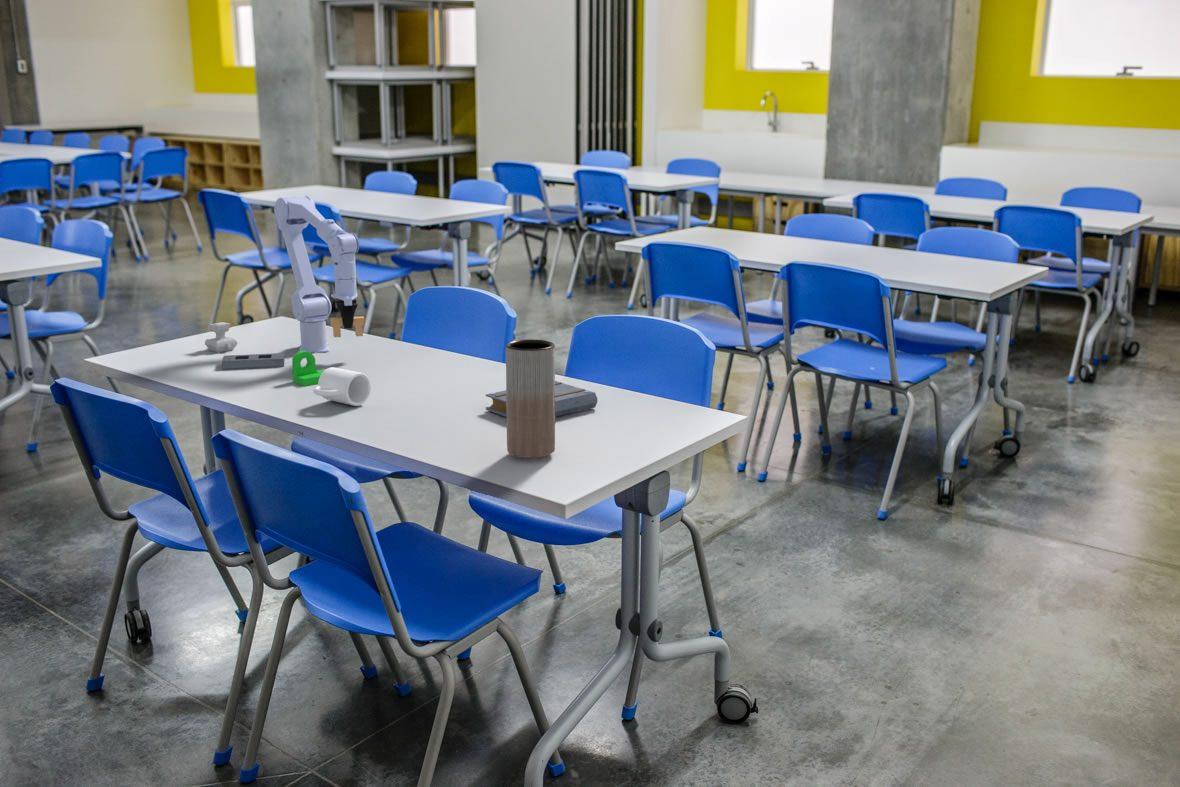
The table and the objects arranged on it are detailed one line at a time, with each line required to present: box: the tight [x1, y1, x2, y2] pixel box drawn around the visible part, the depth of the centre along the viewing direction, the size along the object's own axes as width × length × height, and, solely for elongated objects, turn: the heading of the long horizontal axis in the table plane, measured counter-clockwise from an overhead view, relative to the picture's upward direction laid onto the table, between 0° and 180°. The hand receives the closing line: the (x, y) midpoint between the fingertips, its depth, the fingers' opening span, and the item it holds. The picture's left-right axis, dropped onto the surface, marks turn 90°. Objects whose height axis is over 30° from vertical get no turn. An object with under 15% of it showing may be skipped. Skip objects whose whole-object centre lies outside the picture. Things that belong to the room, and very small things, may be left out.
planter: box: [505, 339, 556, 459], centre depth 228 cm, size 10×10×23 cm
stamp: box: [204, 321, 238, 353], centre depth 318 cm, size 9×7×8 cm
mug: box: [312, 366, 372, 407], centre depth 265 cm, size 12×10×8 cm
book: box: [485, 380, 598, 418], centre depth 263 cm, size 21×16×5 cm
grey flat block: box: [221, 352, 286, 371], centre depth 303 cm, size 7×16×2 cm, turn 103°
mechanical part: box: [291, 350, 327, 387], centre depth 287 cm, size 12×6×8 cm, turn 130°
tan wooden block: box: [329, 315, 366, 338], centre depth 306 cm, size 3×9×5 cm, turn 107°
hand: (347, 327), depth 306 cm, fingers closed on tan wooden block, 3 cm apart
